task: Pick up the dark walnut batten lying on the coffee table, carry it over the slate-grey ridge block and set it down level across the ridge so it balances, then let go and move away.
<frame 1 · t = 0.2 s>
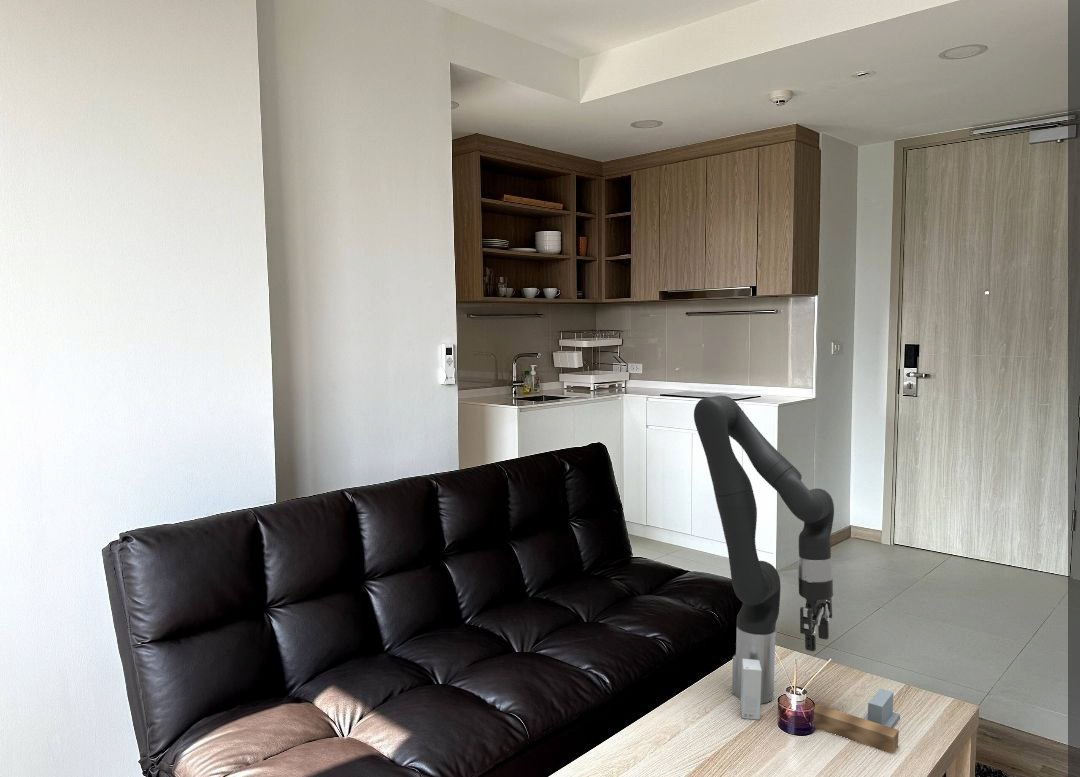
hand: (817, 644, 181), 17 cm above the table, tool pointing down, fingers open, 8 cm apart
skincare box: (750, 713, 183), on the table
walnut batten: (852, 737, 173), on the table
ridge block: (880, 722, 179), on the table
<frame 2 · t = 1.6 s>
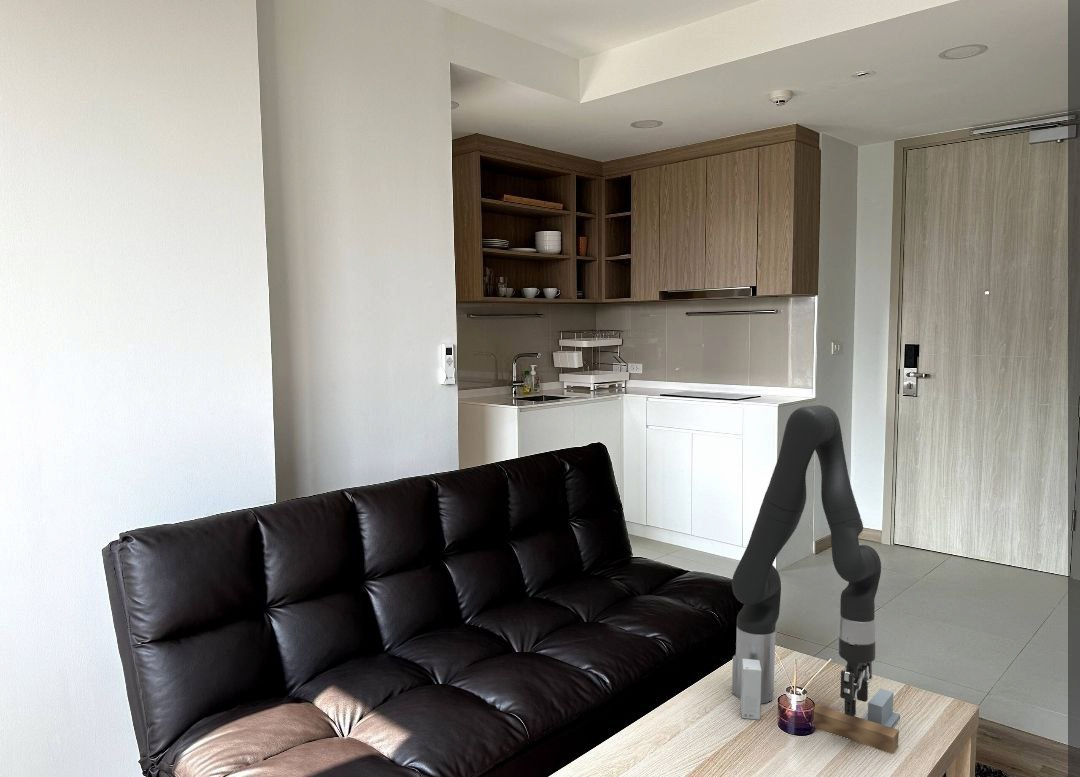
hand: (856, 707, 172), 7 cm above the table, tool pointing down, fingers open, 8 cm apart
nothing on the table moved.
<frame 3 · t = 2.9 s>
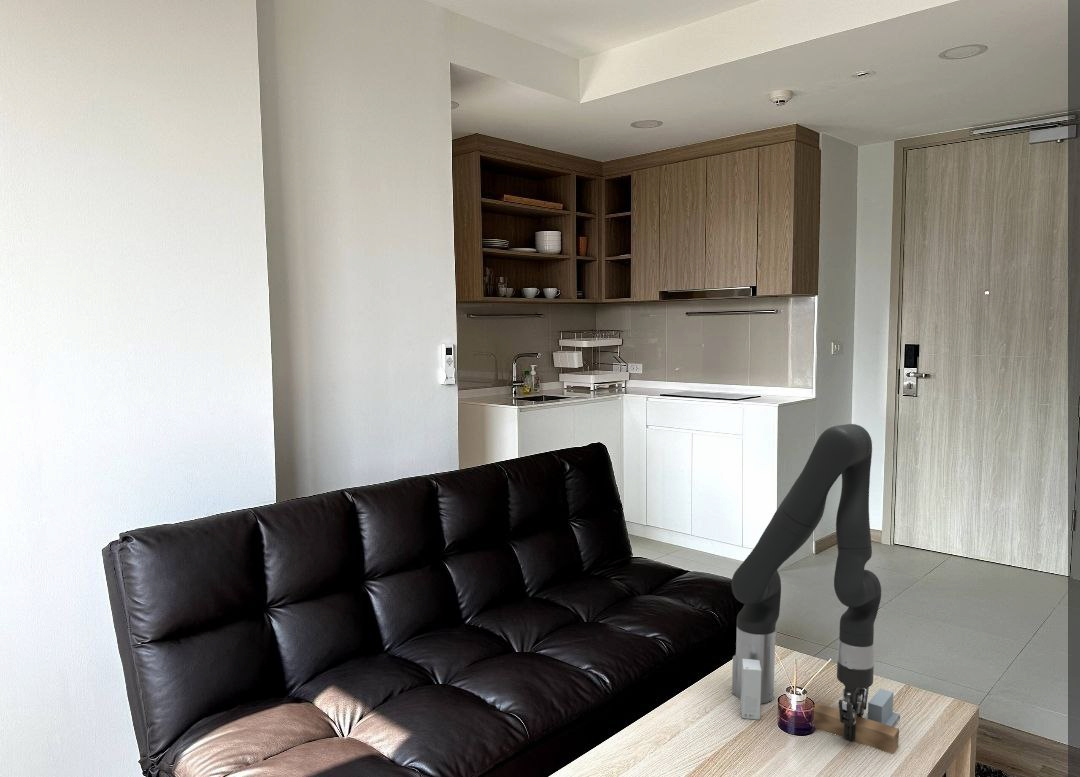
hand: (852, 734, 173), 0 cm above the table, tool pointing down, fingers closed on walnut batten, 4 cm apart
walnut batten: (852, 736, 173), on the table, touching gripper
everything else where it was.
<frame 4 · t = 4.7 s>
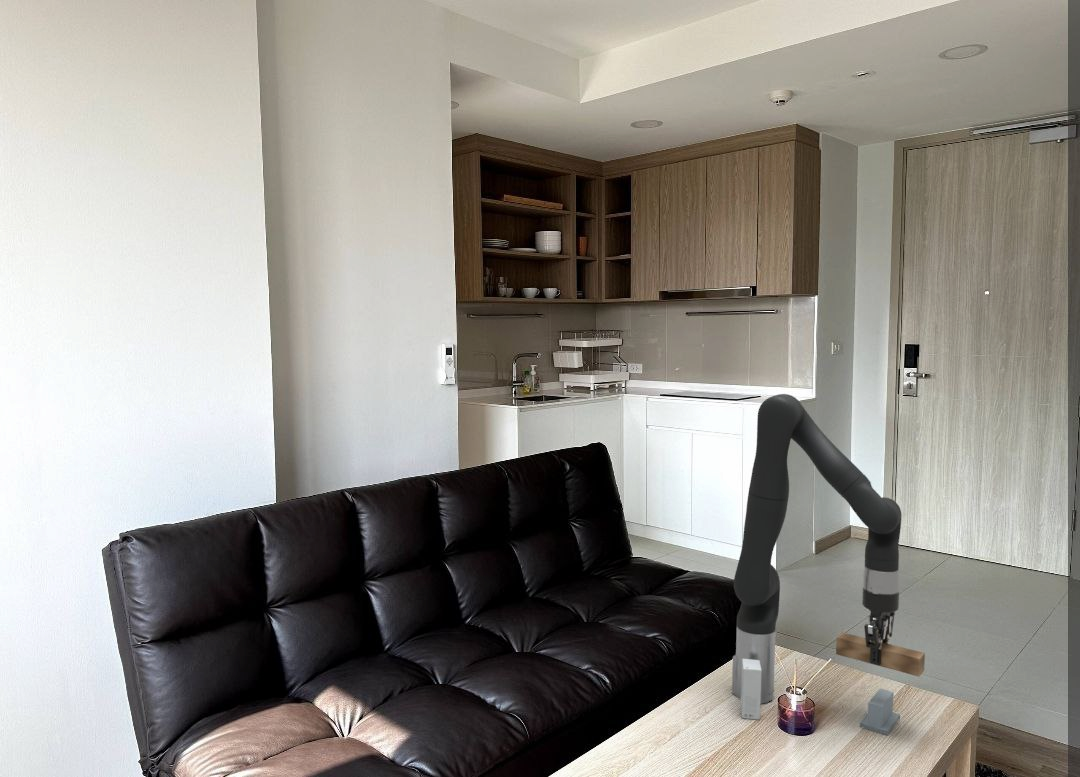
hand: (878, 660, 176), 15 cm above the table, tool pointing down, fingers closed on walnut batten, 4 cm apart
walnut batten: (879, 662, 176), point 15 cm above the table, touching gripper
everything else where it was.
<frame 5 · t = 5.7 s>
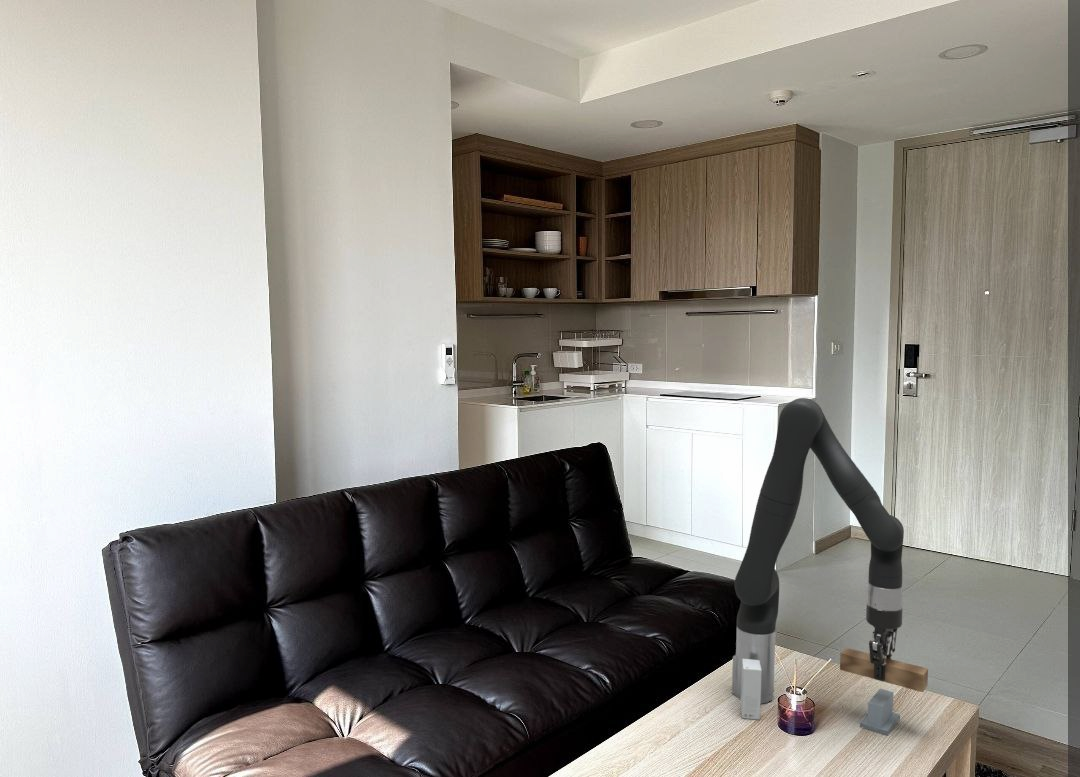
hand: (882, 676, 178), 11 cm above the table, tool pointing down, fingers closed on walnut batten, 4 cm apart
walnut batten: (882, 677, 178), point 11 cm above the table, touching gripper
everything else where it was.
when the fingers open (8 cm above the table, at t = 6.6 s): walnut batten drops 1 cm, resting on ridge block.
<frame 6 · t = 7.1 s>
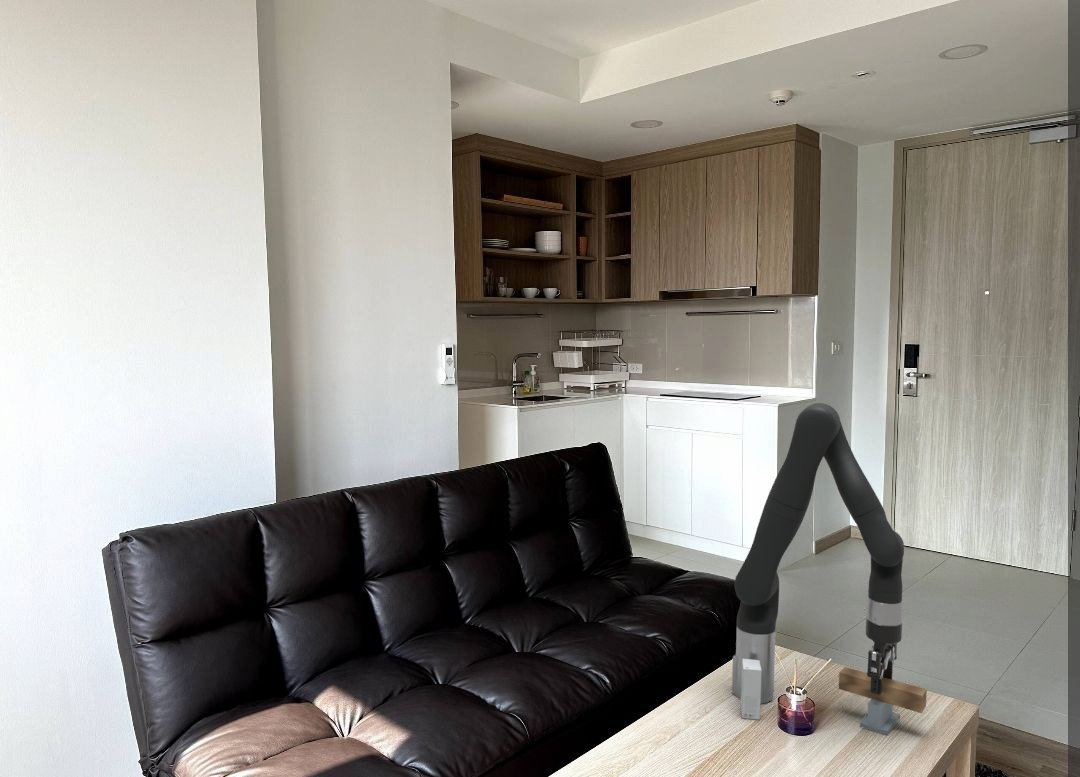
hand: (881, 686, 178), 9 cm above the table, tool pointing down, fingers open, 8 cm apart
walnut batten: (881, 697, 179), point 6 cm above the table, touching ridge block
everything else where it was.
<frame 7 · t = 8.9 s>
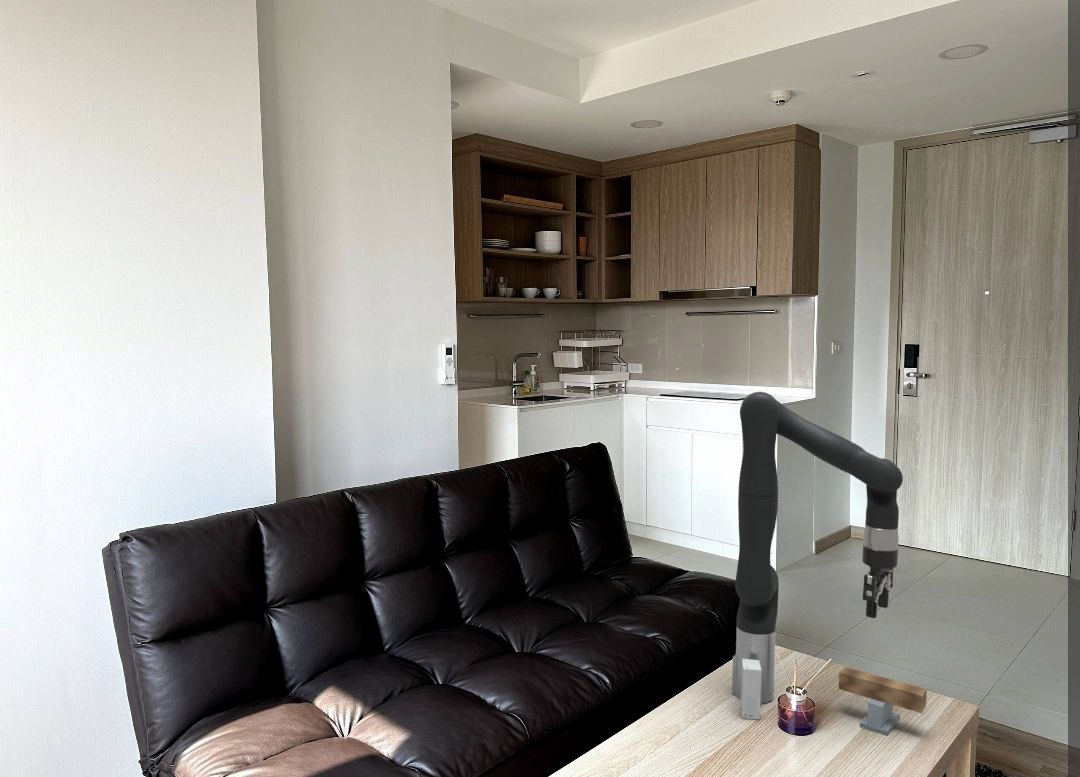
hand: (877, 612, 183), 24 cm above the table, tool pointing down, fingers open, 8 cm apart
nothing on the table moved.
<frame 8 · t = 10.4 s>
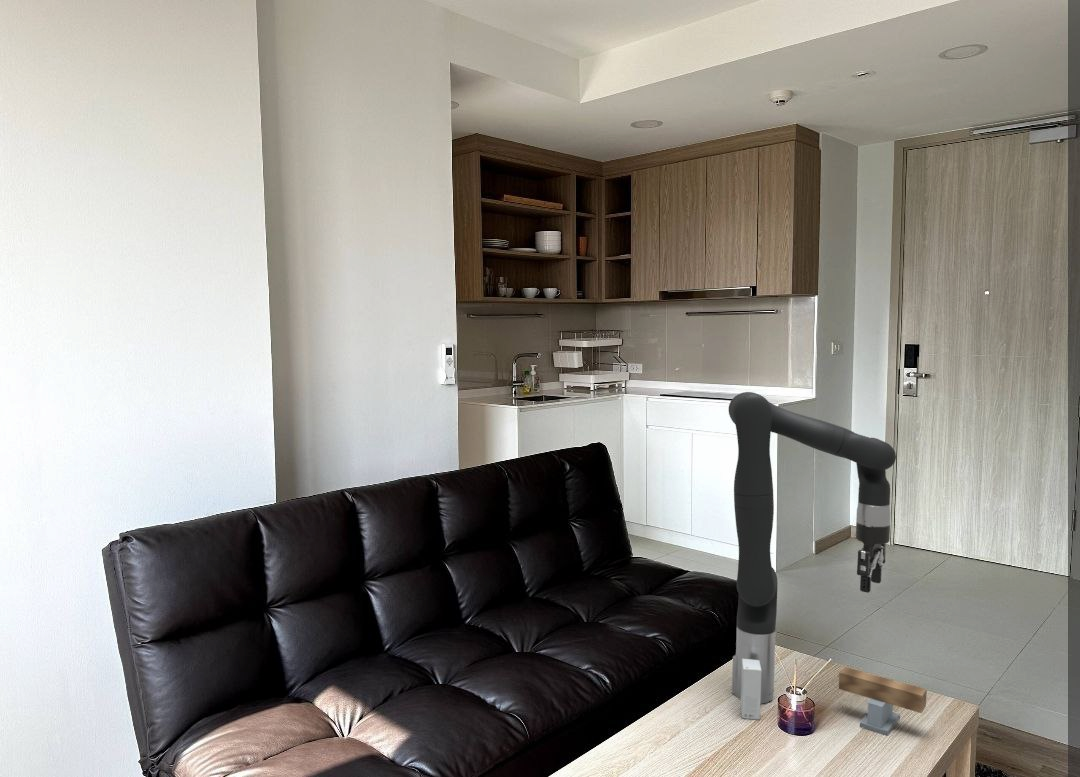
hand: (870, 587, 188), 28 cm above the table, tool pointing down, fingers open, 8 cm apart
nothing on the table moved.
at the end: walnut batten 0.0 cm off-centre on the ridge block, point 6.0 cm above the ridge block's base; walnut batten touching ridge block; the gripper is holding nothing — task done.
